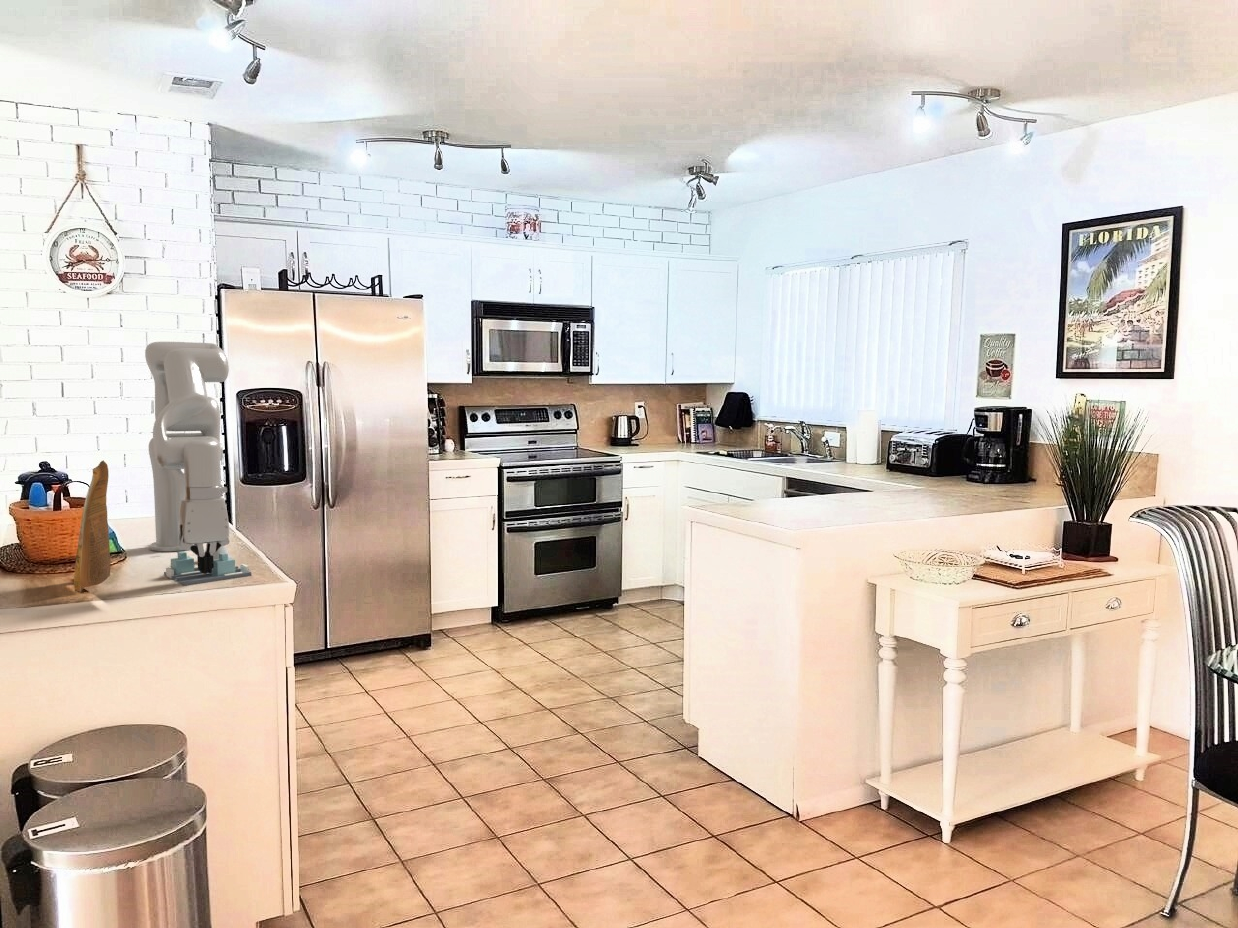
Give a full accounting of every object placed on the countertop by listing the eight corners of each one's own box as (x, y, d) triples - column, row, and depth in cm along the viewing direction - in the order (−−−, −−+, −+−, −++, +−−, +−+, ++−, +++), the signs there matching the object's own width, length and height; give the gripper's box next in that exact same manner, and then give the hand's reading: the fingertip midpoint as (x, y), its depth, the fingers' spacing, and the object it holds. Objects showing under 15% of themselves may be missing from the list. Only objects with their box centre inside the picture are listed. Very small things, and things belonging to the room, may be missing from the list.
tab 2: (212, 576, 209) (211, 553, 208) (229, 574, 212) (228, 551, 211) (218, 579, 206) (217, 555, 206) (235, 576, 209) (234, 553, 209)
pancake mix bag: (123, 574, 214) (118, 459, 211) (101, 594, 196) (95, 467, 193) (91, 576, 212) (86, 459, 210) (66, 596, 194) (60, 468, 191)
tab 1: (171, 575, 209) (170, 552, 209) (189, 572, 212) (188, 550, 212) (176, 577, 207) (175, 554, 206) (194, 575, 210) (193, 552, 209)
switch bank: (163, 579, 210) (162, 566, 210) (227, 570, 221) (227, 557, 220) (185, 590, 200) (185, 577, 200) (252, 580, 210) (251, 567, 210)
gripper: (229, 489, 212) (232, 565, 214) (162, 494, 201) (165, 574, 203) (242, 492, 207) (245, 570, 209) (174, 498, 196) (177, 580, 198)
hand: (205, 572), depth 206 cm, fingers closed
